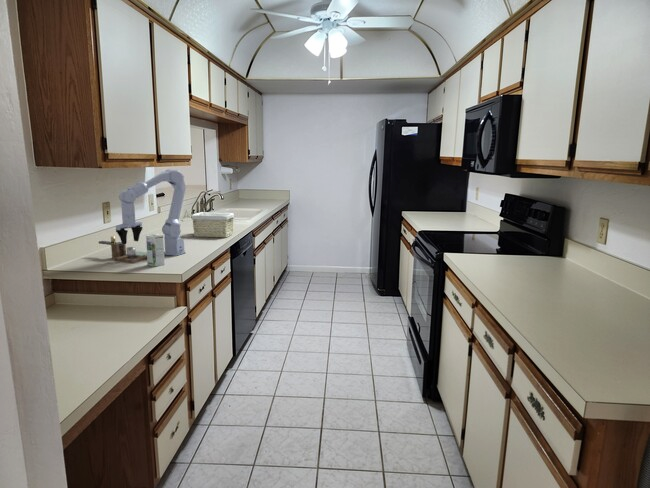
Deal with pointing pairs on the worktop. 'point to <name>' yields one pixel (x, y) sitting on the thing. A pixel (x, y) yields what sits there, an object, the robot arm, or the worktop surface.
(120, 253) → the walnut socket block
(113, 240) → the dark grey long bar
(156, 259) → the syrup box
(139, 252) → the sage rubber pad
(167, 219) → the robot arm
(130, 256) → the steel peg
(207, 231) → the storage basket
